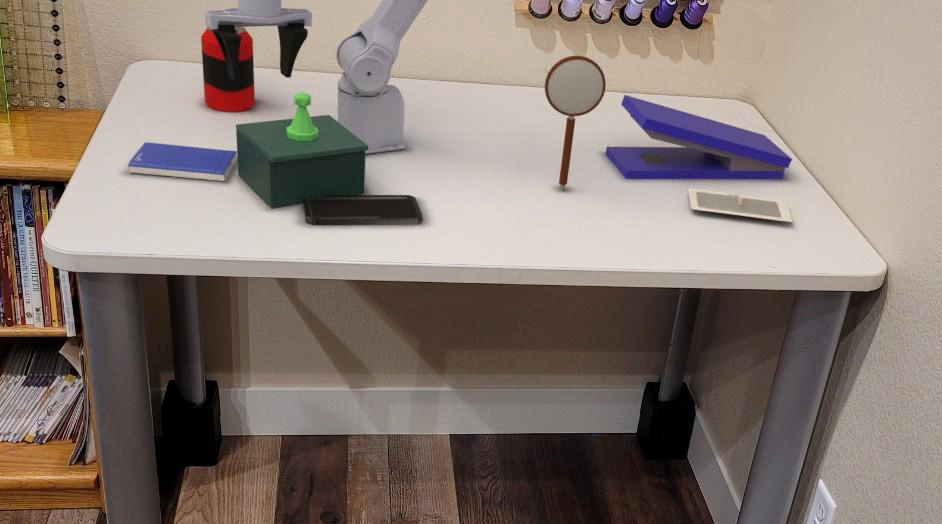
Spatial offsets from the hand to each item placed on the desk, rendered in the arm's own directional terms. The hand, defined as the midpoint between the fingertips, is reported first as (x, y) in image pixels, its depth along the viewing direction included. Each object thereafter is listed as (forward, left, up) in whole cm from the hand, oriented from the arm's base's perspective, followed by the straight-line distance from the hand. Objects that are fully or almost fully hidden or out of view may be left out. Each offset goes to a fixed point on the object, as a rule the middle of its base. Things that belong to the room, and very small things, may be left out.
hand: (260, 77), depth 149 cm
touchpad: (-55, +45, -11) cm, 72 cm away
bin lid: (+1, +15, -4) cm, 16 cm away
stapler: (-61, +29, -11) cm, 68 cm away
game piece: (0, +16, -3) cm, 16 cm away
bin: (0, +15, -10) cm, 18 cm away
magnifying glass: (-34, +29, -11) cm, 46 cm away
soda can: (-2, -18, -11) cm, 21 cm away
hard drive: (+13, +4, -11) cm, 17 cm away
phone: (-3, +26, -11) cm, 28 cm away
